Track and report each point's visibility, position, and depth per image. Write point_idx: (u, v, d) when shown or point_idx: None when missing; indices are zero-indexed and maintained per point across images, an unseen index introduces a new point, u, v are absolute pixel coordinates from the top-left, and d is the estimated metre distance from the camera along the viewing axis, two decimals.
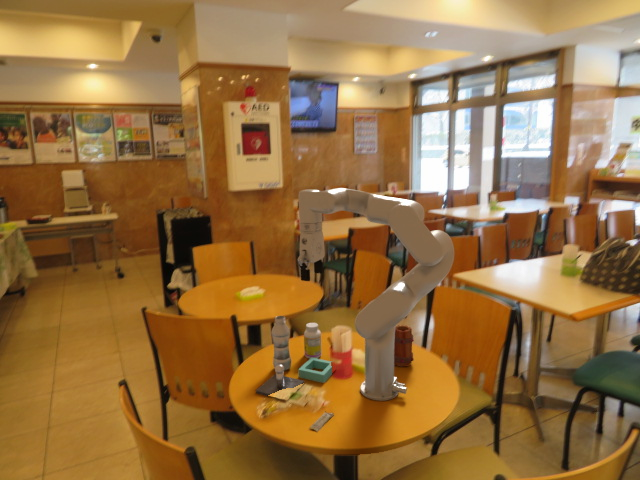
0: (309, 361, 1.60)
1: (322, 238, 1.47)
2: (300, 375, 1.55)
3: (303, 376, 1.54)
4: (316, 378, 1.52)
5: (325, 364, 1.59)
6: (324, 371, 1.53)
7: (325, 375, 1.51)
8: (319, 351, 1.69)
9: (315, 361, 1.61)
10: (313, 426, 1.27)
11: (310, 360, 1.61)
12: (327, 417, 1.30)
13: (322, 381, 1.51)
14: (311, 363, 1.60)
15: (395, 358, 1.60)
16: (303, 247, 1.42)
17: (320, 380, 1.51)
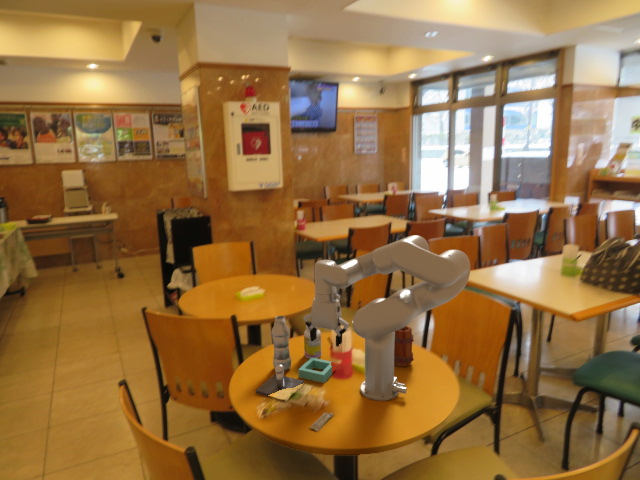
0: (309, 361, 1.60)
1: None
2: (300, 375, 1.55)
3: (303, 376, 1.54)
4: (316, 378, 1.52)
5: (325, 364, 1.59)
6: (324, 371, 1.53)
7: (325, 375, 1.51)
8: (319, 351, 1.69)
9: (315, 361, 1.61)
10: (313, 426, 1.27)
11: (310, 360, 1.61)
12: (327, 417, 1.30)
13: (322, 381, 1.51)
14: (311, 363, 1.60)
15: (395, 358, 1.60)
16: (338, 315, 1.49)
17: (320, 380, 1.51)
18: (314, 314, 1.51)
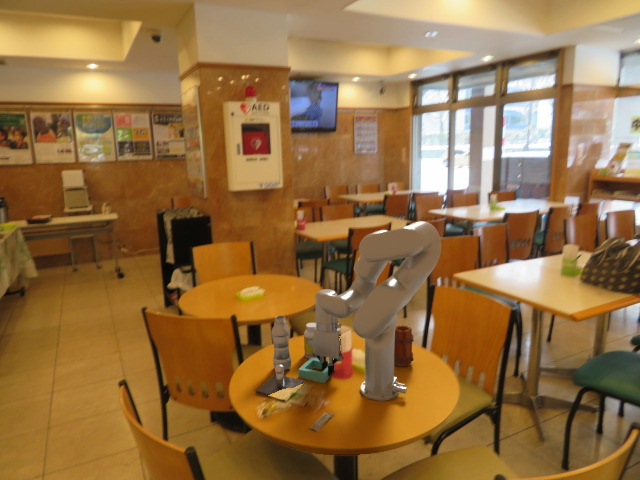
0: (309, 361, 1.60)
1: None
2: (300, 375, 1.55)
3: (303, 376, 1.54)
4: (316, 378, 1.52)
5: None
6: (324, 371, 1.53)
7: (325, 375, 1.52)
8: None
9: (315, 361, 1.61)
10: (313, 426, 1.27)
11: (310, 360, 1.61)
12: (327, 417, 1.30)
13: (322, 381, 1.51)
14: (311, 363, 1.60)
15: (395, 358, 1.60)
16: (339, 343, 1.50)
17: (320, 380, 1.51)
18: (316, 343, 1.52)
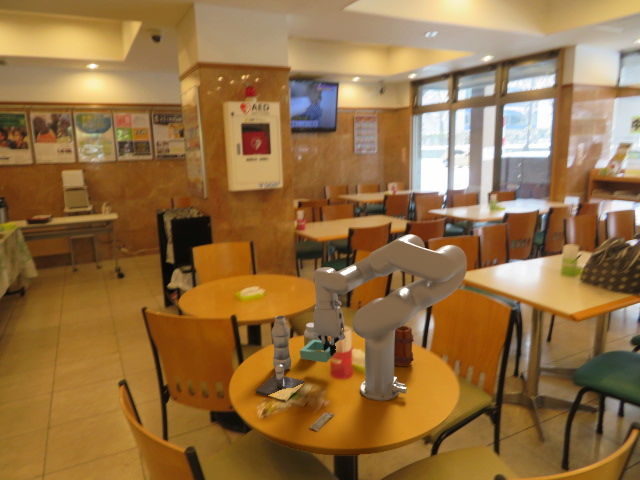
0: (311, 343, 1.58)
1: None
2: (302, 356, 1.53)
3: (305, 357, 1.52)
4: (318, 358, 1.50)
5: None
6: (326, 351, 1.51)
7: (327, 354, 1.49)
8: None
9: (317, 343, 1.59)
10: (313, 426, 1.27)
11: (312, 342, 1.59)
12: (327, 417, 1.30)
13: (324, 361, 1.49)
14: (313, 344, 1.58)
15: (395, 358, 1.60)
16: (340, 321, 1.49)
17: (322, 360, 1.49)
18: (316, 322, 1.51)
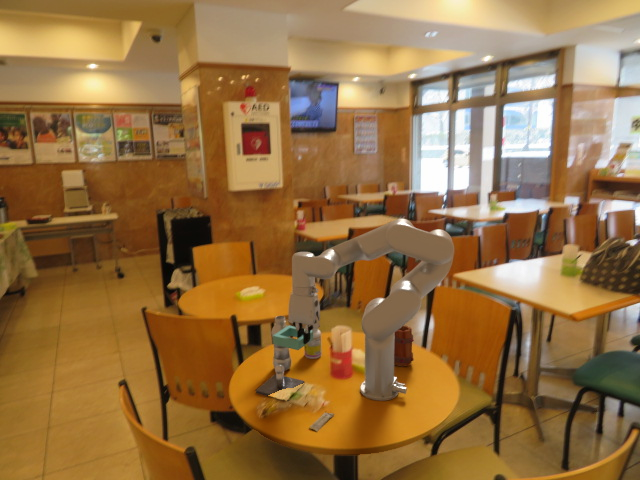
0: (285, 328, 1.53)
1: None
2: (274, 342, 1.47)
3: (277, 343, 1.47)
4: (290, 345, 1.44)
5: None
6: (299, 338, 1.45)
7: (300, 342, 1.44)
8: (319, 351, 1.69)
9: (292, 329, 1.53)
10: (313, 426, 1.27)
11: (287, 328, 1.53)
12: (327, 417, 1.30)
13: (296, 348, 1.43)
14: (288, 330, 1.53)
15: (395, 358, 1.60)
16: (316, 309, 1.42)
17: (294, 347, 1.43)
18: (291, 308, 1.45)
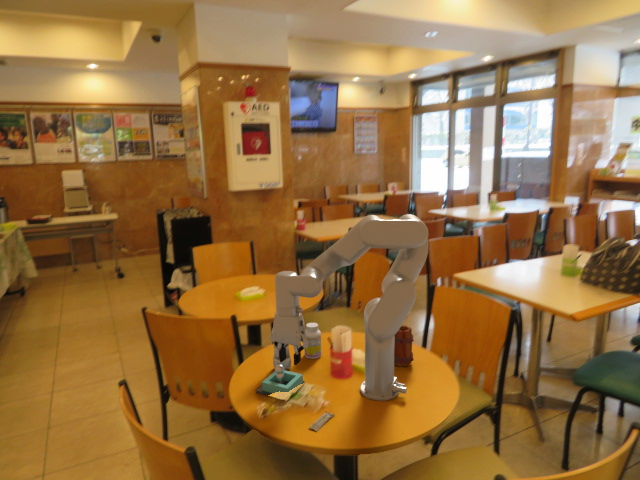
0: (274, 373, 1.50)
1: None
2: (263, 388, 1.45)
3: (267, 389, 1.44)
4: None
5: (291, 376, 1.49)
6: (289, 384, 1.43)
7: (289, 388, 1.42)
8: (319, 351, 1.69)
9: None
10: (312, 426, 1.27)
11: None
12: (327, 417, 1.30)
13: None
14: None
15: (395, 358, 1.60)
16: (301, 329, 1.39)
17: None
18: (276, 329, 1.41)
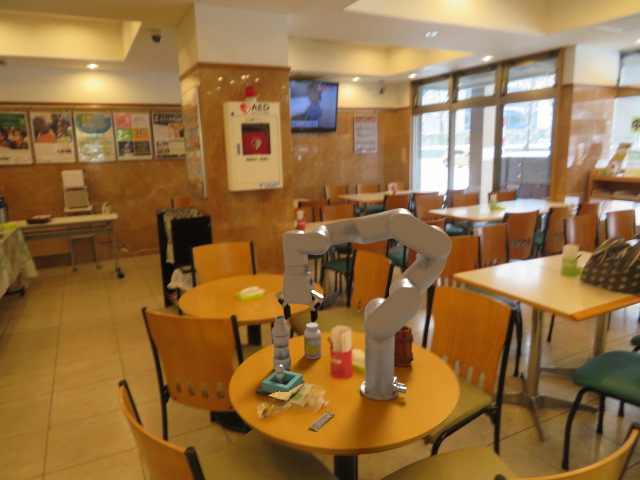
0: (274, 373, 1.50)
1: None
2: (263, 388, 1.45)
3: (267, 389, 1.44)
4: None
5: (291, 376, 1.49)
6: (289, 384, 1.43)
7: (289, 388, 1.42)
8: (319, 351, 1.69)
9: None
10: (312, 426, 1.27)
11: None
12: (327, 417, 1.30)
13: None
14: None
15: (395, 358, 1.60)
16: (311, 288, 1.38)
17: None
18: (286, 289, 1.40)
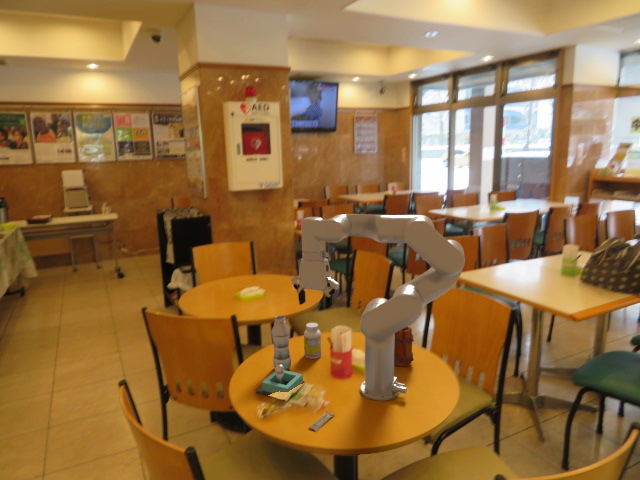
0: (274, 373, 1.50)
1: None
2: (263, 388, 1.45)
3: (267, 389, 1.44)
4: None
5: (291, 376, 1.49)
6: (289, 384, 1.43)
7: (289, 388, 1.42)
8: (319, 351, 1.69)
9: None
10: (312, 426, 1.27)
11: None
12: (327, 417, 1.30)
13: None
14: None
15: (395, 358, 1.60)
16: (327, 274, 1.41)
17: None
18: (302, 275, 1.43)
